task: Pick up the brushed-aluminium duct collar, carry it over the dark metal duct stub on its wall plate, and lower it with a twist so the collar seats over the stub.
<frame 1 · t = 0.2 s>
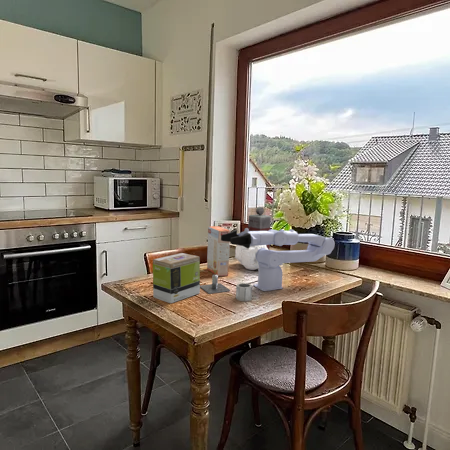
hand: (225, 239, 135), 21 cm above the table, fingers open, 7 cm apart
tea box: (176, 296, 134), on the table
duct stub: (214, 289, 143), on the table
cracker box: (217, 272, 168), on the table
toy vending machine: (256, 256, 203), on the table
duct collar: (243, 298, 133), on the table
cauliflower: (254, 267, 179), on the table
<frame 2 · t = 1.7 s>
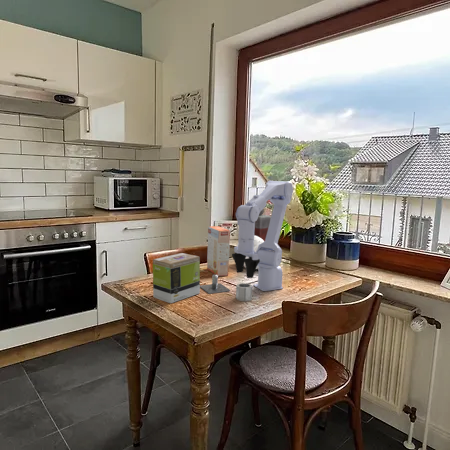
hand: (244, 274, 132), 9 cm above the table, fingers open, 7 cm apart
nothing on the table moved.
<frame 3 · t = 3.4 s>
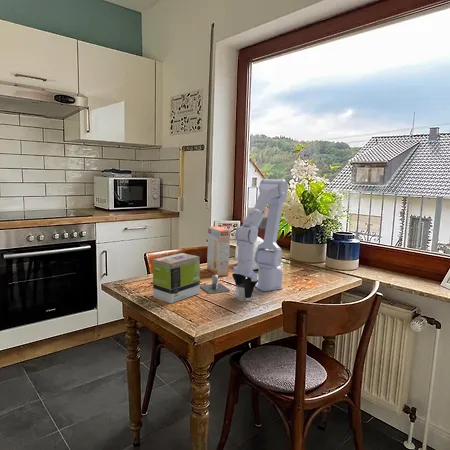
hand: (244, 294, 133), 1 cm above the table, fingers closed on duct collar, 6 cm apart
duct collar: (243, 298, 133), on the table, touching gripper
everything else where it was.
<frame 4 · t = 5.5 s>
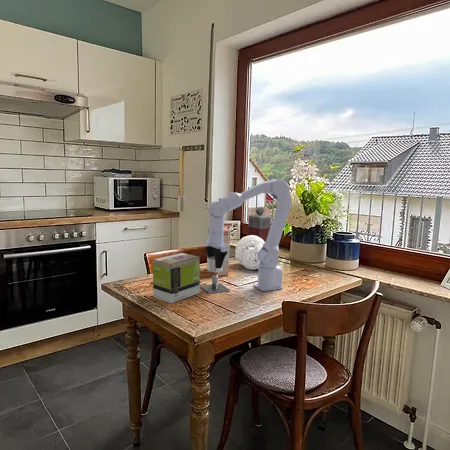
hand: (215, 266, 142), 9 cm above the table, fingers closed on duct collar, 6 cm apart
duct collar: (214, 270, 142), point 8 cm above the table, touching gripper
everything else where it was.
when the fingers open (3 cm above the table, at t = 7.8 s): duct collar stays where it is, resting on duct stub.
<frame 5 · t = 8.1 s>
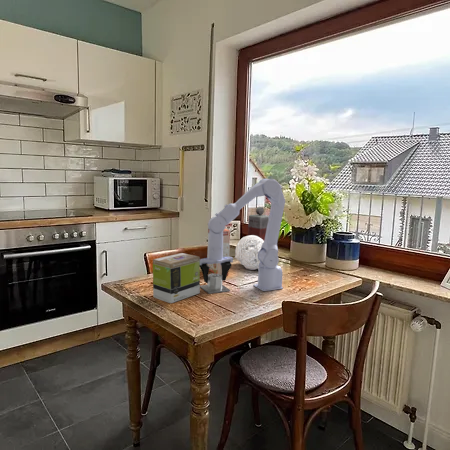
hand: (214, 281, 143), 3 cm above the table, fingers open, 7 cm apart
duct collar: (214, 287, 143), point 1 cm above the table, touching duct stub
everything else where it was.
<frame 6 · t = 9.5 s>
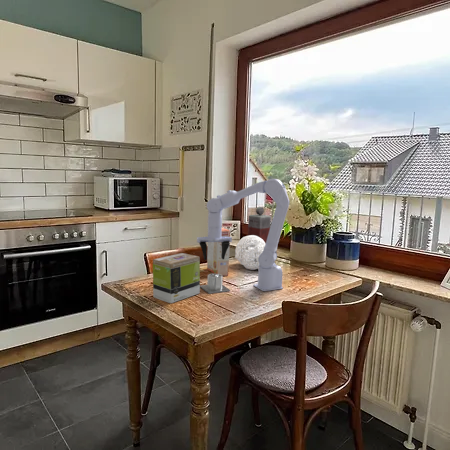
hand: (214, 259, 151), 10 cm above the table, fingers open, 7 cm apart
nothing on the table moved.
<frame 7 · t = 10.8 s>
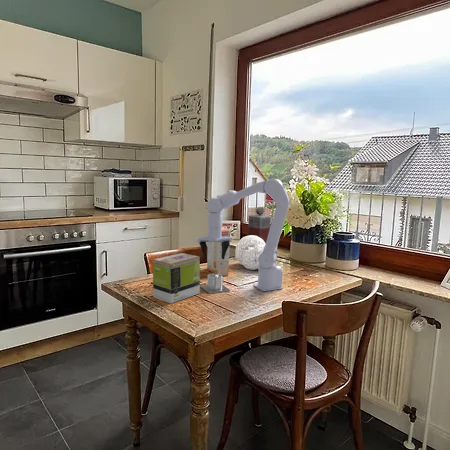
hand: (214, 259, 151), 10 cm above the table, fingers open, 7 cm apart
nothing on the table moved.
at the end: duct collar 0.1 cm off-centre on the duct stub, point 0.6 cm above the duct stub's base; duct collar tilted 0°; the gripper is holding nothing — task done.
